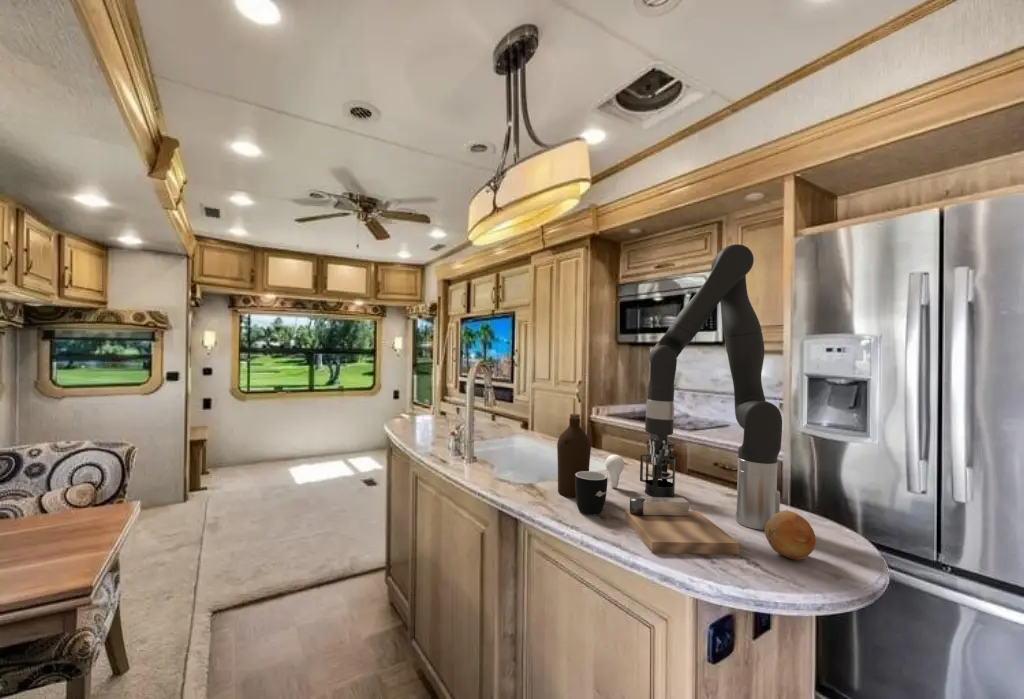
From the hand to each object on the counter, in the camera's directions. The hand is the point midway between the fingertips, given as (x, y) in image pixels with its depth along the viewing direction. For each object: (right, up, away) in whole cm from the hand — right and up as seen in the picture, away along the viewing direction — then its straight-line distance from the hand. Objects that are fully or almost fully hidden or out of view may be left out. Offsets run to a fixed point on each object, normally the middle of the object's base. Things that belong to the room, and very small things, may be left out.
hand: (656, 477), depth 124 cm
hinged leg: (-2, -7, -7) cm, 10 cm away
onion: (+22, -11, -25) cm, 34 cm away
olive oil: (-21, -10, +17) cm, 29 cm away
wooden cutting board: (0, -10, -15) cm, 18 cm away
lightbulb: (-7, -10, +23) cm, 26 cm away
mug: (-18, -10, +2) cm, 20 cm away
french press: (+7, -11, +19) cm, 23 cm away
